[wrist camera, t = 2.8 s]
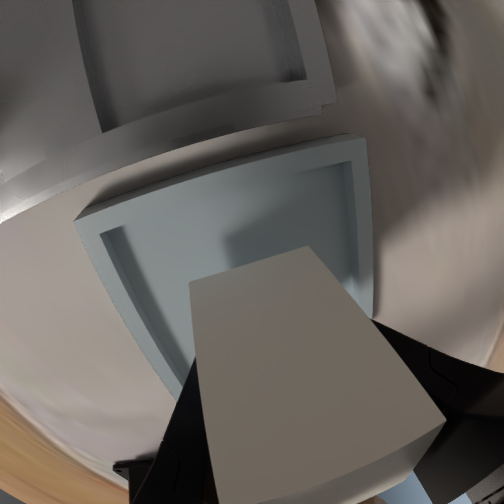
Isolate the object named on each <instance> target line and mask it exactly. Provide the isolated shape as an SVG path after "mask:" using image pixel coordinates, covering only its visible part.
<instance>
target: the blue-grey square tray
mask: <svg viewBox="0 0 504 504" xmlns="http://www.w3.org/2000/svg"><path fill="white" fill-rule="evenodd" d="M73 222H74V225H75V227H76V229H77V232H78V234H79V236H80V238H81V240H82V243H83V245H84V247H85V249H86V251H87V253H88V255H89V257H90V260H91V262H92V264H93V266H94V268H95V270H96V272H97V274H98V276H99V278H100V279H101V281H102V283H103V285H104V287H105V289H106V291H107V293H108V295H109V296H110V298H111V300H112V302H113V304H114V305H115V307H116V309H117V311H118V313H119V314H120V316H121V318H122V319H123V321H124V323H125V325H126V326H127V328H128V330H129V331H130V333H131V335H132V336H133V338H134V339H135V341H136V343H137V344H138V346H139V347H140V349H141V351H142V352H143V354H144V355H145V357H146V358H147V360H148V361H149V363H150V364H151V366H152V367H153V369H154V370H155V372H156V373H157V375H158V376H159V378H160V379H161V381H162V382H163V383H164V385H165V386H166V388H167V389H168V390H169V392H170V393H171V395H172V396H173V397H174V399H175V400H176V401H178V398H179V396H180V393H181V391H182V388H183V386H184V383H185V381H186V378H187V376H188V373H189V371H190V368H191V366H192V363H193V360H194V358H195V356H196V355H195V346H194V337H193V327H192V316H191V305H190V293H189V282H190V281H194V280H197V279H200V278H204V277H207V276H210V275H214V274H217V273H220V272H223V271H227V270H230V269H233V268H236V267H240V266H243V265H246V264H249V263H253V262H256V261H259V260H262V259H266V258H269V257H272V256H275V255H279V254H282V253H285V252H288V251H291V250H295V249H298V248H301V247H304V246H307V245H308V246H309V247H310V248H311V249H312V251H313V252H314V253H315V254H316V255H317V256H318V257H319V259H320V260H321V261H322V262H323V263H324V264H325V266H326V267H327V268H328V269H329V270H330V272H331V273H332V274H333V275H334V276H335V277H336V279H337V280H338V281H339V282H340V283H341V285H342V286H343V287H344V288H345V289H346V291H347V292H348V293H349V294H350V295H351V297H352V298H353V299H354V300H355V301H356V303H357V304H358V305H359V306H360V308H361V309H362V310H363V311H364V313H365V314H366V315H367V316H368V317H369V318H370V319H372V312H373V221H372V201H371V187H370V174H369V163H368V154H367V145H366V137H362V136H358V135H353V134H349V133H348V134H343V135H337V136H332V137H327V138H321V139H316V140H312V141H307V142H302V143H297V144H293V145H288V146H284V147H280V148H275V149H271V150H267V151H263V152H259V153H255V154H251V155H247V156H243V157H240V158H236V159H232V160H228V161H225V162H221V163H218V164H214V165H211V166H207V167H204V168H200V169H197V170H194V171H190V172H187V173H184V174H181V175H178V176H174V177H171V178H168V179H165V180H162V181H159V182H156V183H153V184H150V185H147V186H144V187H141V188H139V189H136V190H133V191H130V192H127V193H125V194H122V195H119V196H116V197H114V198H111V199H109V200H106V201H103V202H101V203H98V204H96V205H93V206H91V207H88V208H86V209H83V210H82V212H81V213H80V214H79V215H78V216H77V217H76V219H75V220H74V221H73Z"/></svg>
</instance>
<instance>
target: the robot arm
mask: <svg viewBox="0 0 504 504" xmlns="http://www.w3.org/2000/svg"><path fill="white" fill-rule="evenodd" d="M369 319H370V318H369ZM370 320H371V321H372V322H373V324H374V325H375V326H376V327H377V329H378V330H379V331H380V332H381V334H382V335H383V336H384V337H385V339H386V340H387V341H388V343H389V344H390V345H391V346H392V348H393V349H394V350H395V351H396V353H397V354H398V355H399V357H400V358H401V359H402V360H403V362H404V363H405V364H406V366H407V367H408V368H409V370H410V371H411V372H412V374H413V375H414V376H415V378H416V379H417V380H418V382H419V383H420V384H421V386H422V387H423V388H424V390H425V391H426V392H427V394H428V395H429V396H430V398H431V399H432V400H433V402H434V403H435V404H436V406H437V407H438V409H439V410H440V411H441V413H442V414H443V416H444V417H445V418H446V420H447V421H446V422H445V424H444V425H443V427H442V429H441V430H440V432H439V433H438V435H437V436H436V438H435V439H434V441H433V442H432V444H431V445H430V447H429V448H428V450H427V451H426V452H425V454H424V455H423V457H422V458H421V459H420V461H419V462H418V464H417V465H416V466H415V467H414V469H413V471H414V473H415V474H416V476H417V478H418V479H419V481H420V483H421V484H422V486H423V488H424V489H425V491H426V493H427V494H428V496H429V498H430V500H431V501H432V503H433V504H448V503H450V502H451V501H453V500H455V499H456V498H458V497H459V496H461V495H462V494H464V493H465V492H466V494H467V496H468V497H469V499H470V501H471V502H472V504H504V373H499V372H495V371H492V370H489V369H486V368H483V367H480V366H477V365H474V364H471V363H468V362H465V361H462V360H459V359H457V358H454V357H451V356H449V355H447V354H444V353H442V352H440V351H438V350H436V349H433V348H431V347H428V346H427V345H425V344H423V343H421V342H418V341H416V340H414V339H412V338H410V337H408V336H406V335H404V334H402V333H400V332H397V331H395V330H393V329H391V328H389V327H387V326H385V325H383V324H381V323H379V322H377V321H374V320H372V319H370ZM113 471H114V472H116V473H117V474H119V475H120V476H122V477H123V478H125V479H126V480H128V483H129V504H219V500H218V495H217V490H216V485H215V480H214V475H213V469H212V464H211V458H210V453H209V447H208V441H207V435H206V429H205V422H204V416H203V409H202V402H201V395H200V387H199V380H198V372H197V363H196V356H195V358H194V360H193V363H192V366H191V368H190V371H189V373H188V376H187V378H186V381H185V383H184V386H183V388H182V391H181V393H180V396H179V398H178V401H177V404H176V406H175V409H174V411H173V414H172V416H171V419H170V421H169V424H168V427H167V429H166V432H165V434H164V437H163V441H162V442H161V444H160V447H159V450H158V452H157V454H156V457H155V459H154V461H148V462H138V463H128V464H115V465H113Z"/></svg>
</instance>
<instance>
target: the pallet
mask: <svg viewBox="0 0 504 504" xmlns="http://www.w3.org/2000/svg"><path fill="white" fill-rule="evenodd" d="M333 103H338V101H337V95H336V90H335V85H334V80H333V75H332V70H331V65H330V60H329V56H328V51H327V47H326V43H325V39H324V35H323V31H322V27H321V23H320V19H319V15H318V12H317V8H316V4H315V1H314V0H0V223H2V222H3V221H5V220H7V219H9V218H11V217H13V216H15V215H16V214H18V213H20V212H22V211H24V210H26V209H28V208H30V207H32V206H34V205H36V204H38V203H40V202H42V201H44V200H47V199H49V198H51V197H53V196H55V195H57V194H59V193H62V192H64V191H66V190H68V189H71V188H73V187H75V186H77V185H80V184H82V183H85V182H87V181H89V180H92V179H94V178H97V177H99V176H102V175H104V174H107V173H109V172H112V171H114V170H117V169H120V168H122V167H125V166H128V165H130V164H133V163H136V162H139V161H142V160H144V159H147V158H150V157H153V156H156V155H159V154H162V153H165V152H168V151H171V150H175V149H178V148H181V147H184V146H188V145H191V144H194V143H198V142H201V141H205V140H208V139H212V138H216V137H219V136H223V135H227V134H231V133H235V132H239V131H243V130H247V129H251V128H255V127H260V126H264V125H269V124H273V123H278V122H283V121H288V120H293V119H298V118H303V117H309V116H315V115H321V114H322V108H321V105H326V104H333Z"/></svg>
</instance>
